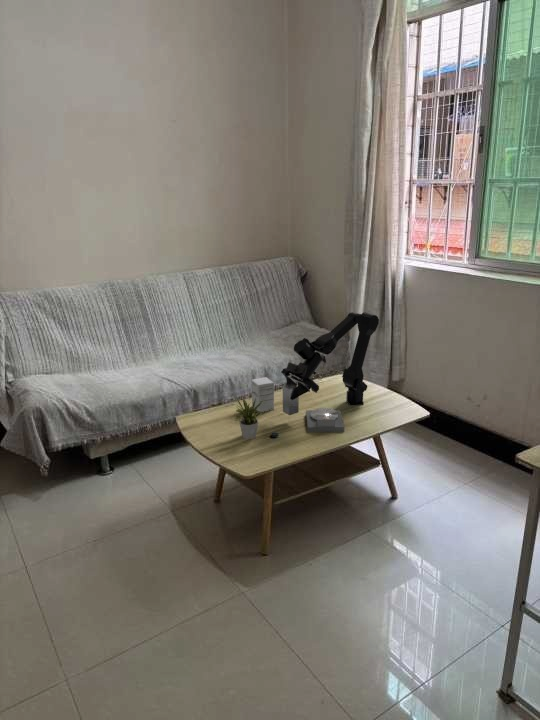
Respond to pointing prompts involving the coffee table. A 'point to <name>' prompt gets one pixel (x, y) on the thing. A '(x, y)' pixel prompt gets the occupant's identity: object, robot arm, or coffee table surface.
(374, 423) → the coffee table surface
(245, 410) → the house plant
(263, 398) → the supplement box
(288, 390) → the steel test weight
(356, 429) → the coffee table surface
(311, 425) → the scale base
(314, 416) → the scale pan
